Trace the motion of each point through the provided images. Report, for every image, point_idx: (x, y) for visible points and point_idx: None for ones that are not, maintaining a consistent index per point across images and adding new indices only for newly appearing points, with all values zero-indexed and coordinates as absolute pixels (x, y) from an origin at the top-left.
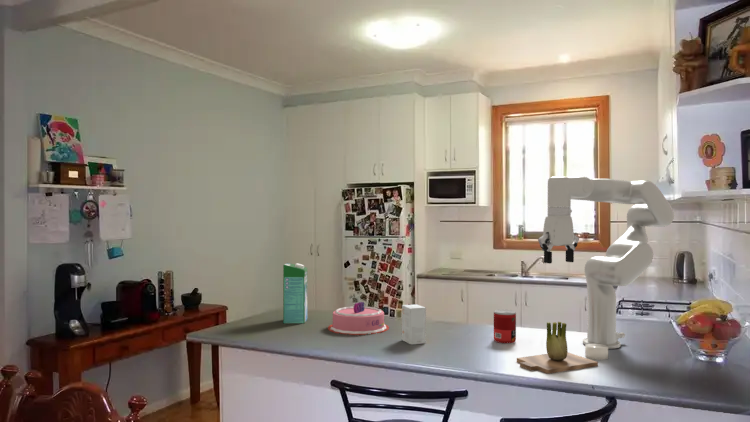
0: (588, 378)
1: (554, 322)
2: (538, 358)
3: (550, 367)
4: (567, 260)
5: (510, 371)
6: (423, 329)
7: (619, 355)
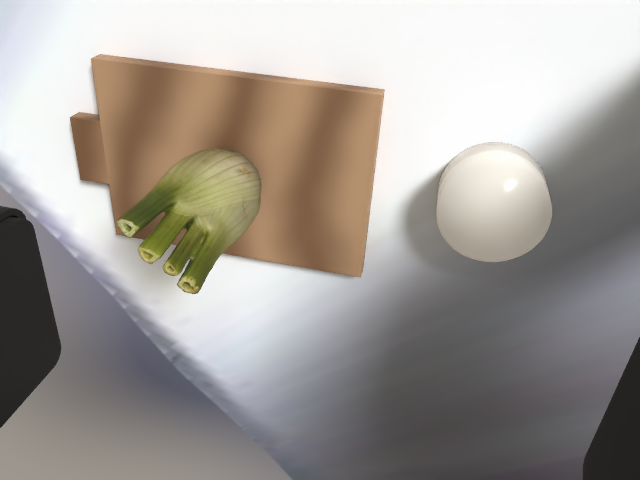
0: (215, 321)
1: (148, 251)
2: (176, 115)
3: None
4: (632, 389)
5: (16, 138)
6: None
7: (610, 234)
